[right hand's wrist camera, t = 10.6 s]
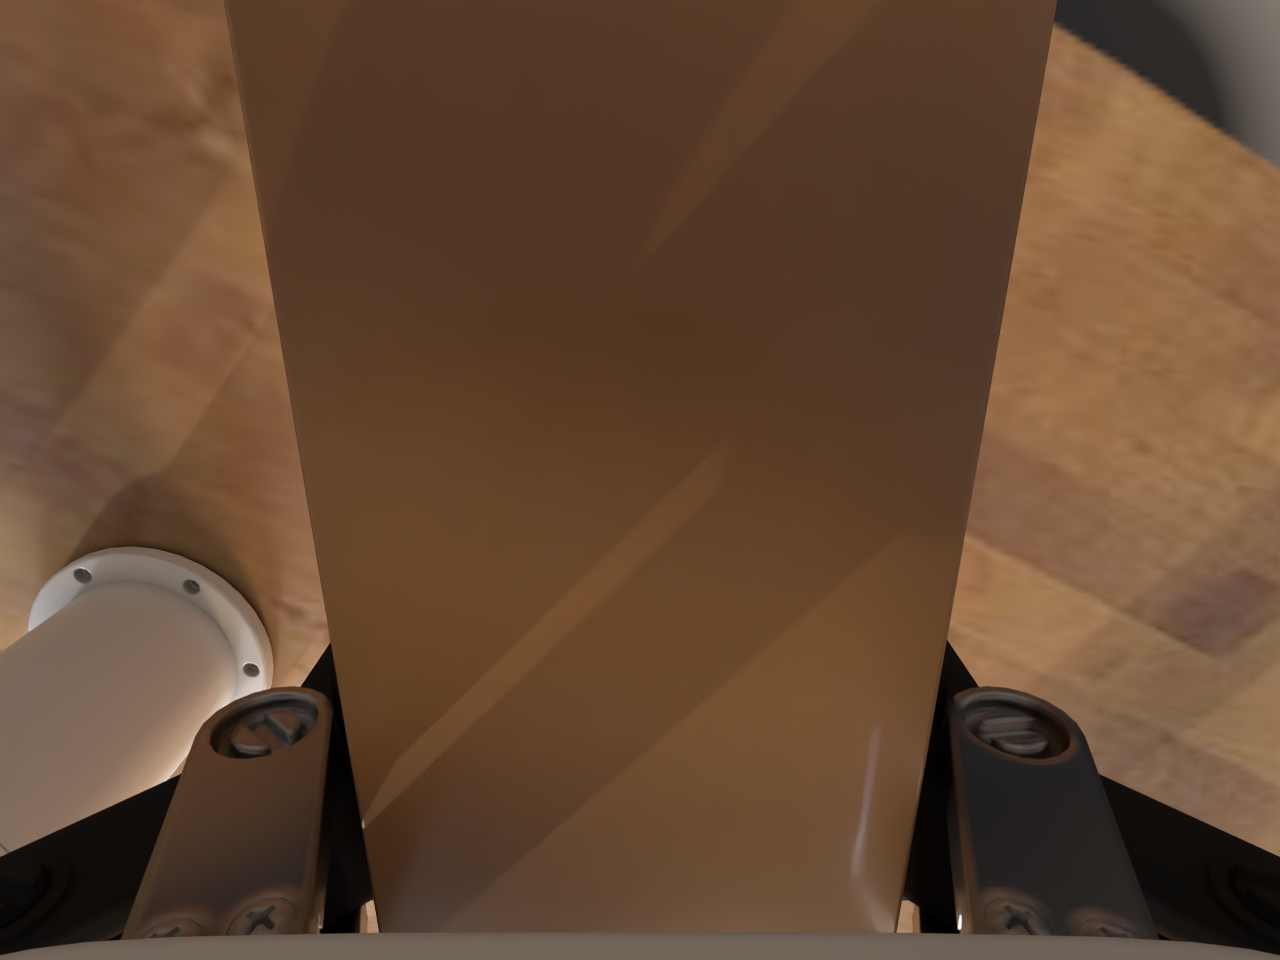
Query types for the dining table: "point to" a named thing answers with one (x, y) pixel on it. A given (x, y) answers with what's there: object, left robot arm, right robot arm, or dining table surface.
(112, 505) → the dining table surface
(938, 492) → the post
